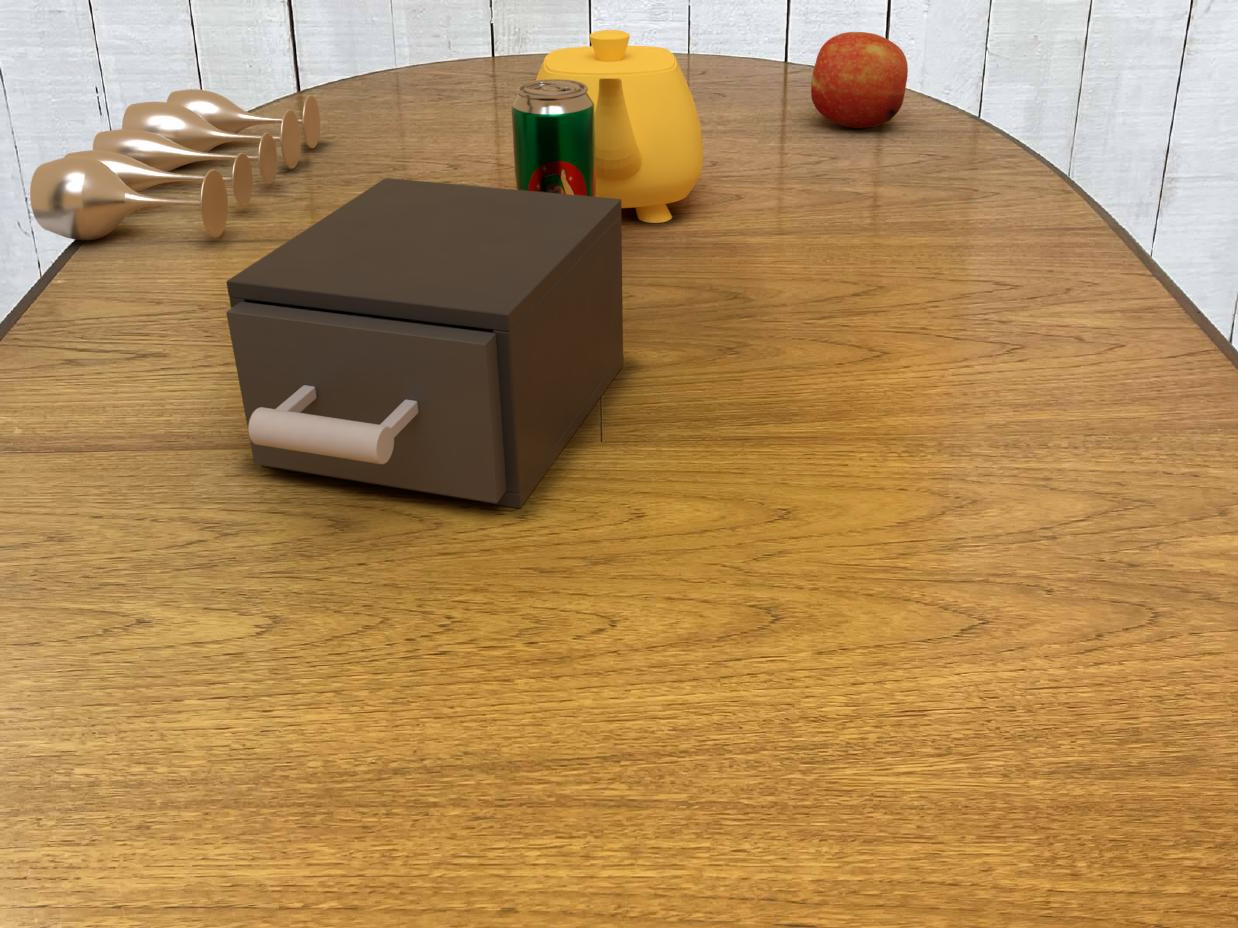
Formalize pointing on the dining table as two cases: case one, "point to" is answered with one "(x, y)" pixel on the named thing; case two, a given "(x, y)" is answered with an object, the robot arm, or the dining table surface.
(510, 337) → the cabinet
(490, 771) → the dining table surface
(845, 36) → the apple
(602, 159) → the teapot
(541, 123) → the soda can
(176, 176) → the goblet set
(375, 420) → the drawer
